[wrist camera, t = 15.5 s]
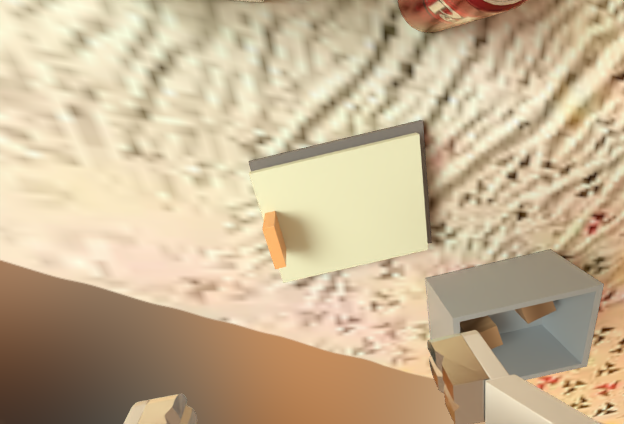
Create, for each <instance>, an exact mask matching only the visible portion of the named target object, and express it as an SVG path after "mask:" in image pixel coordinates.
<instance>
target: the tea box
mask: <svg viewBox="0 0 624 424" xmlns="http://www.w3.org/2000/svg"><path fill="white" fill-rule="evenodd" d="M236 1H249V2H264V0H236Z"/></svg>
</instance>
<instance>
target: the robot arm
mask: <svg viewBox="0 0 624 424" xmlns="http://www.w3.org/2000/svg"><path fill="white" fill-rule="evenodd" d="M427 344H428V350H429V352H430V354H431V356H430V358H429V362H430V368H431V371H432V375H433V378H434V380H435V383H436V385H437V387H438V390H439V391H441V392H442V393H444V397H445V405H446V407H447V409H448V411H449V413H450V415H451V418H452V420H453V421H454V424H474V423H480V422H485V424H600V423H598V422H597V421H595V420H593V419H592V418H590V417H588V416H586V415H585V414H583V413H581V412H579V411H578V410H576V409H574V408H572V407H571V406H569V405H567V404H566V403H564V402H562V401H560V400H559V399H557V398H555V397H553V396H552V395H550V394H548V393H546V392H545V391H543V390H541V389H539V388H538V387H536V386H534V385H533V384H531V383H529V382H527V381H526V380H524V379H522V378H520V377H519V376H517V375H515V374H514V375H509V374H508V372H507V371H506V369H505V368H504V367H503V365H502V364H501V363H500V361H499V360H498V358H497V357H496V356H495V354H494V353H493V351H492V350H491V349H490V347H489V346H488V344H487V343H486V342H485V340H484V339H483V338H482V336H481V335H480V333H479V332H478V331H476V330H472V331H468V332H463V333H459V334H458V333H457V334H453V335H448V336H444V337H439V338H435V339H431V340H428V342H427ZM186 403H187V399H186V397H185V396H184V395H183V394H177V395H172V396H166V397H161V398H156V399H150V400H146V401H141V402H136V403H135V404H134V406H132V408H131V410H130V412H129V414H128V416H127V418H126V420H125V422H124V424H197V417H196V413H195V411H194V410H193V409H192V408H191V407H189V406H187V405H186Z"/></svg>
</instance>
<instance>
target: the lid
mask: <svg viewBox="0 0 624 424" xmlns="http://www.w3.org/2000/svg"><path fill="white" fill-rule="evenodd" d="M249 176H250V179H251V182H252V185H253V189H254V192H255V195H256V198H257V201H258V204H259V207H260V211H261V214H262V217H263V220H264V223H263V232H264V235H265V238H266V241H267V245H268V248H269V251H270V254H271V257H272V260H273V263H274V266H275V269H278V268H279V271H280V274H281V277H282V280H283V283H285V282H289V281H294V280H298V279H303V278H307V277H311V276H316V275H320V274H324V273H329V272H333V271H337V270H342V269H346V268H351V267H355V266H359V265H364V264H368V263H372V262H377V261H381V260H386V259H390V258H394V257H399V256H403V255H407V254H412V253H416V252H421V251H425V250H428V243H427V229H426V216H425V203H424V189H423V176H422V163H421V149H420V136H419V134H418V133H412V134H407V135H403V136H399V137H395V138H391V139H386V140H382V141H378V142H374V143H369V144H365V145H361V146H357V147H352V148H348V149H344V150H340V151H335V152H331V153H327V154H323V155H318V156H314V157H310V158H306V159H302V160H297V161H293V162H289V163H285V164H280V165H276V166H272V167H268V168H263V169H259V170H255V171H251V172H250V173H249Z"/></svg>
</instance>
